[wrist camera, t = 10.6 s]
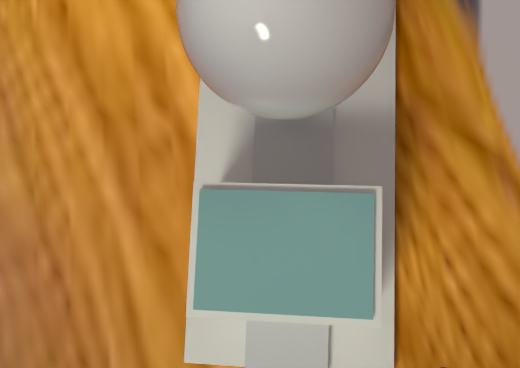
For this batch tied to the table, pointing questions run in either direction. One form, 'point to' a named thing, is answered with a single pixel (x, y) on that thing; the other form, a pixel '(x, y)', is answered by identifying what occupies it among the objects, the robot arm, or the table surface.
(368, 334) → the module rail
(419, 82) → the table surface
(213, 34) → the lightbulb
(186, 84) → the table surface
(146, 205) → the table surface
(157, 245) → the table surface
